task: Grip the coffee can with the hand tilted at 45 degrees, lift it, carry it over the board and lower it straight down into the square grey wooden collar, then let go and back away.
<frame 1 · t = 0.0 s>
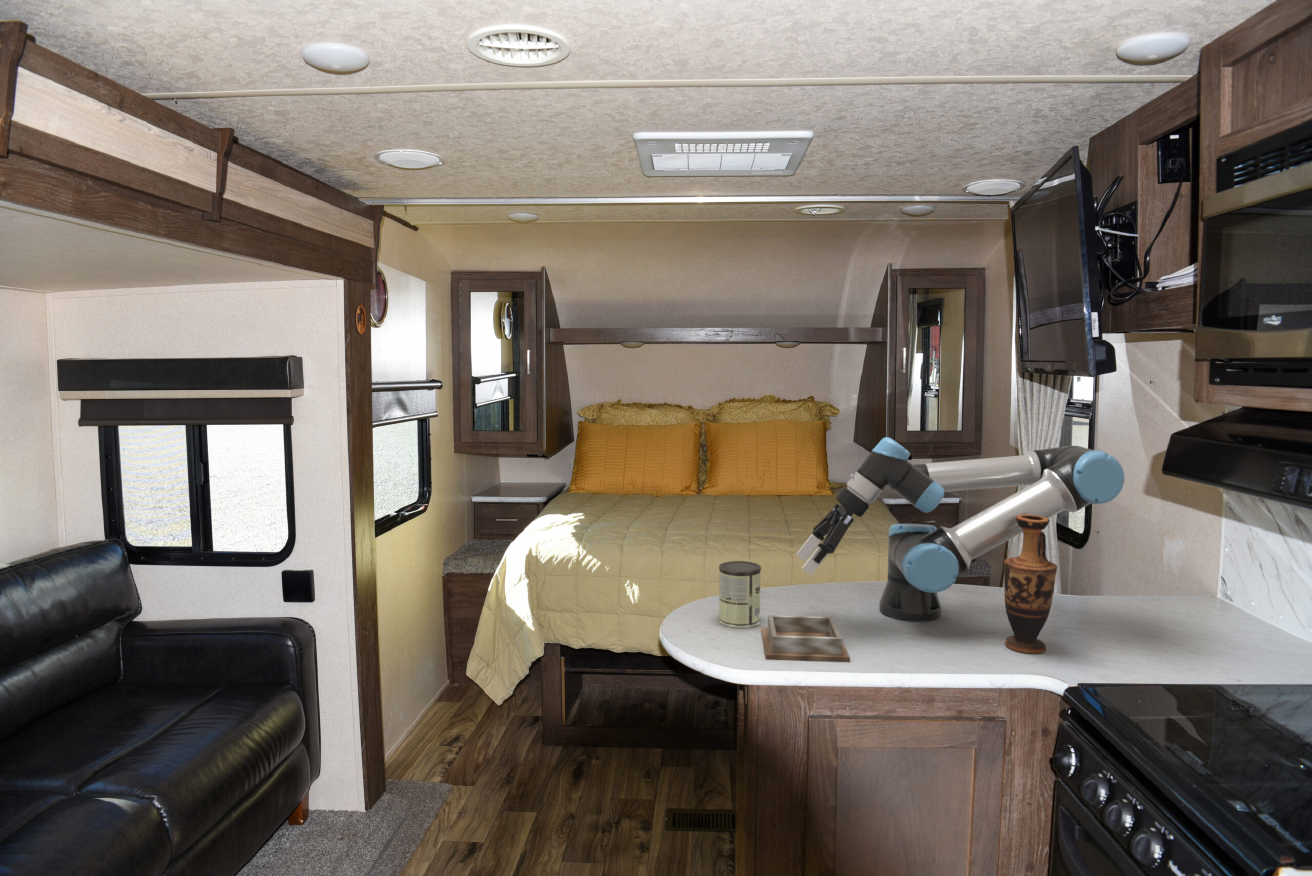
hand: (803, 564, 196), 15 cm above the counter, tool tilted 35°, fingers open, 13 cm apart
collar board: (803, 645, 184), on the counter
coffee can: (739, 622, 201), on the counter
vase: (1024, 648, 184), on the counter, touching arm
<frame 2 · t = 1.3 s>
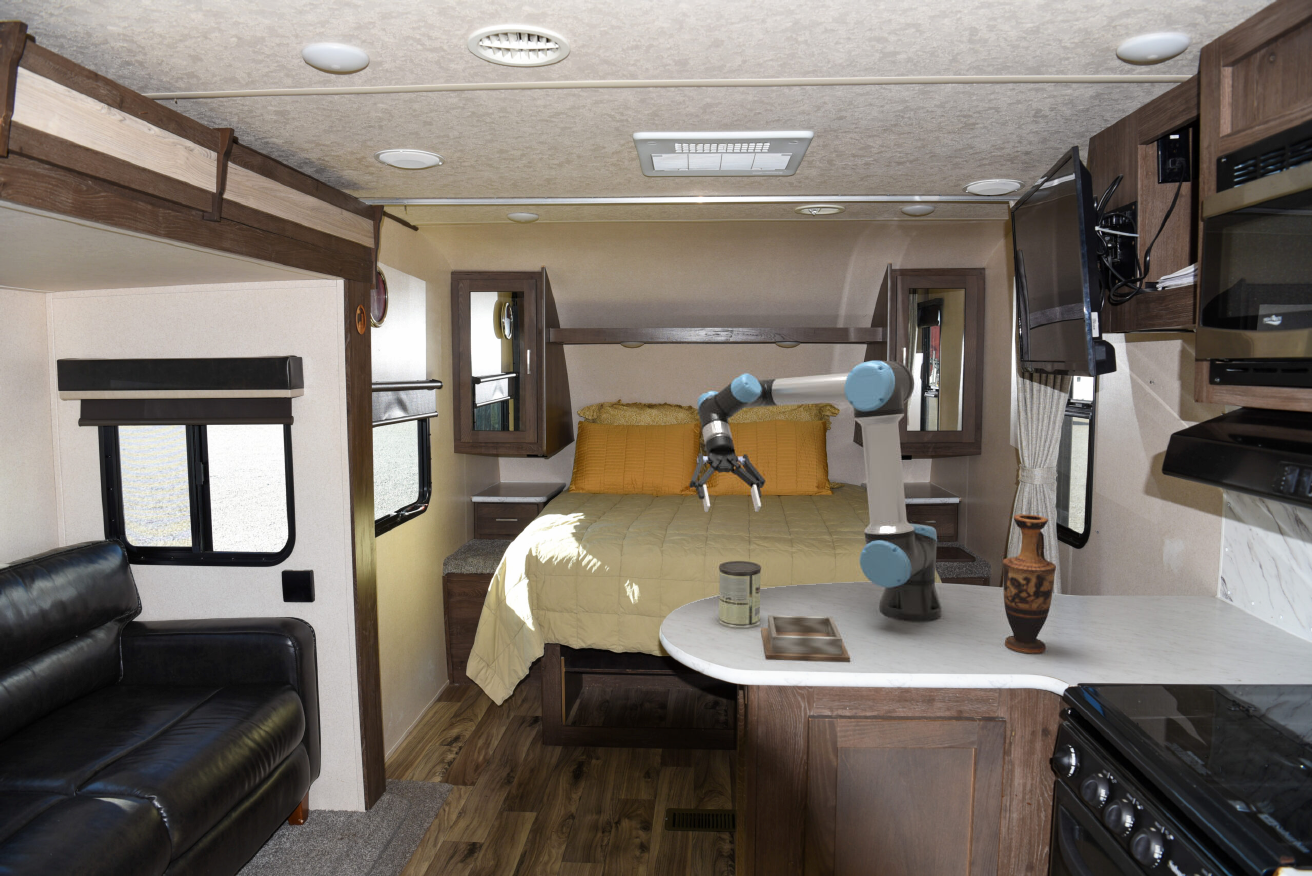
hand: (733, 509, 207), 27 cm above the counter, tool tilted 45°, fingers open, 13 cm apart
vase: (1024, 647, 184), on the counter
everything else where it was.
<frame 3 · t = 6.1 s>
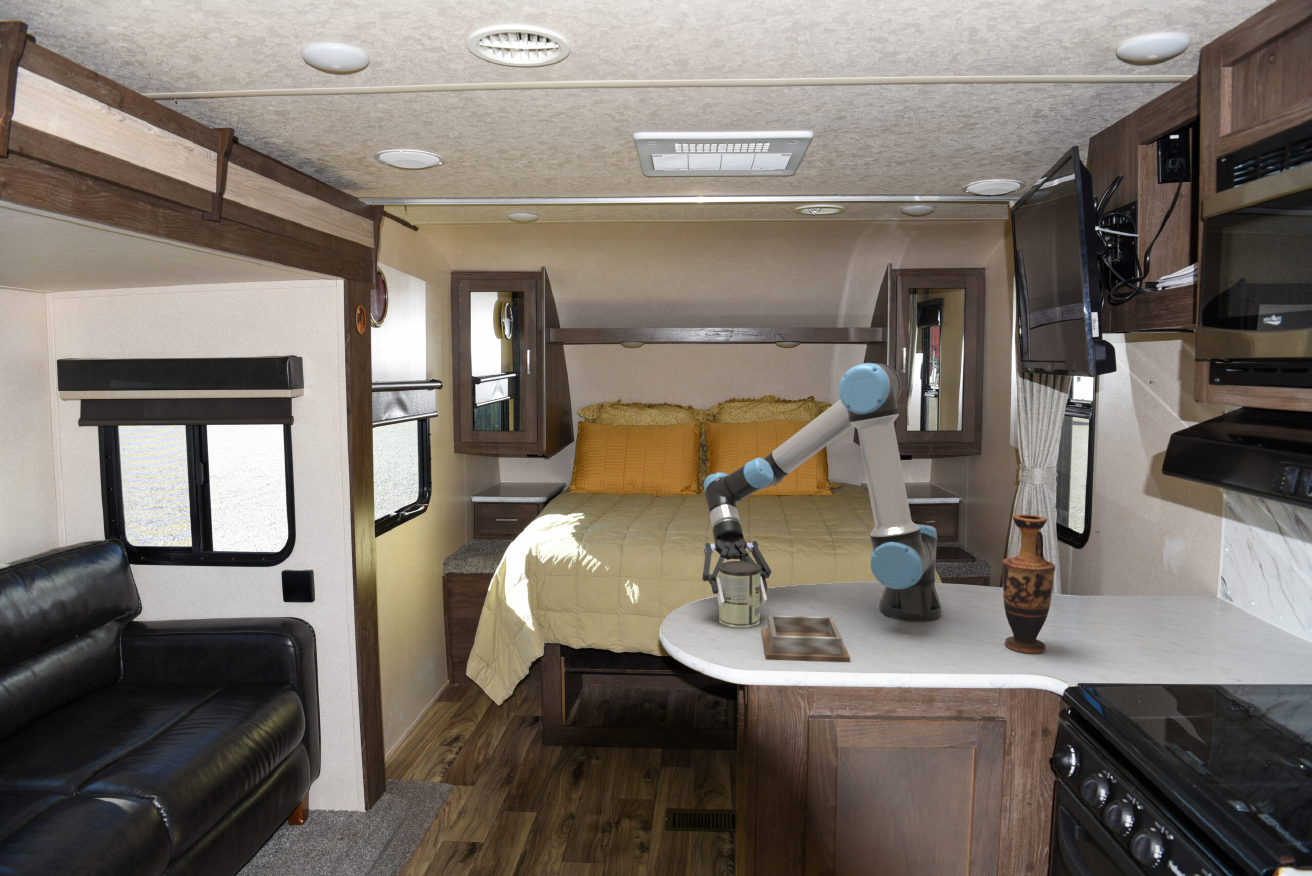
hand: (743, 603, 197), 5 cm above the counter, tool tilted 45°, fingers closed on coffee can, 10 cm apart
coffee can: (739, 622, 201), on the counter, touching gripper
everything else where it was.
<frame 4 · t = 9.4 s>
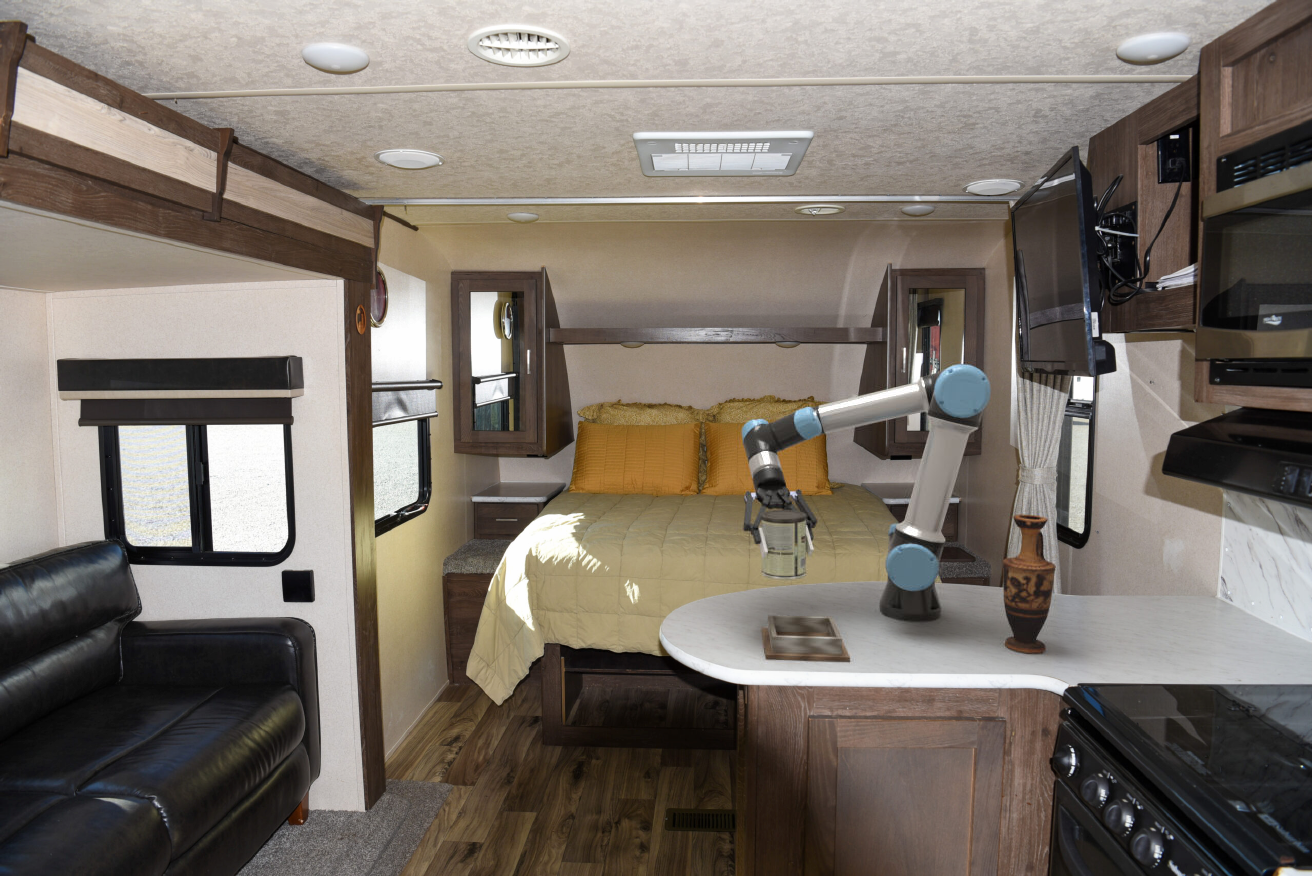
hand: (788, 553, 183), 21 cm above the counter, tool tilted 45°, fingers closed on coffee can, 10 cm apart
coffee can: (783, 575, 187), point 15 cm above the counter, touching gripper
everything else where it was.
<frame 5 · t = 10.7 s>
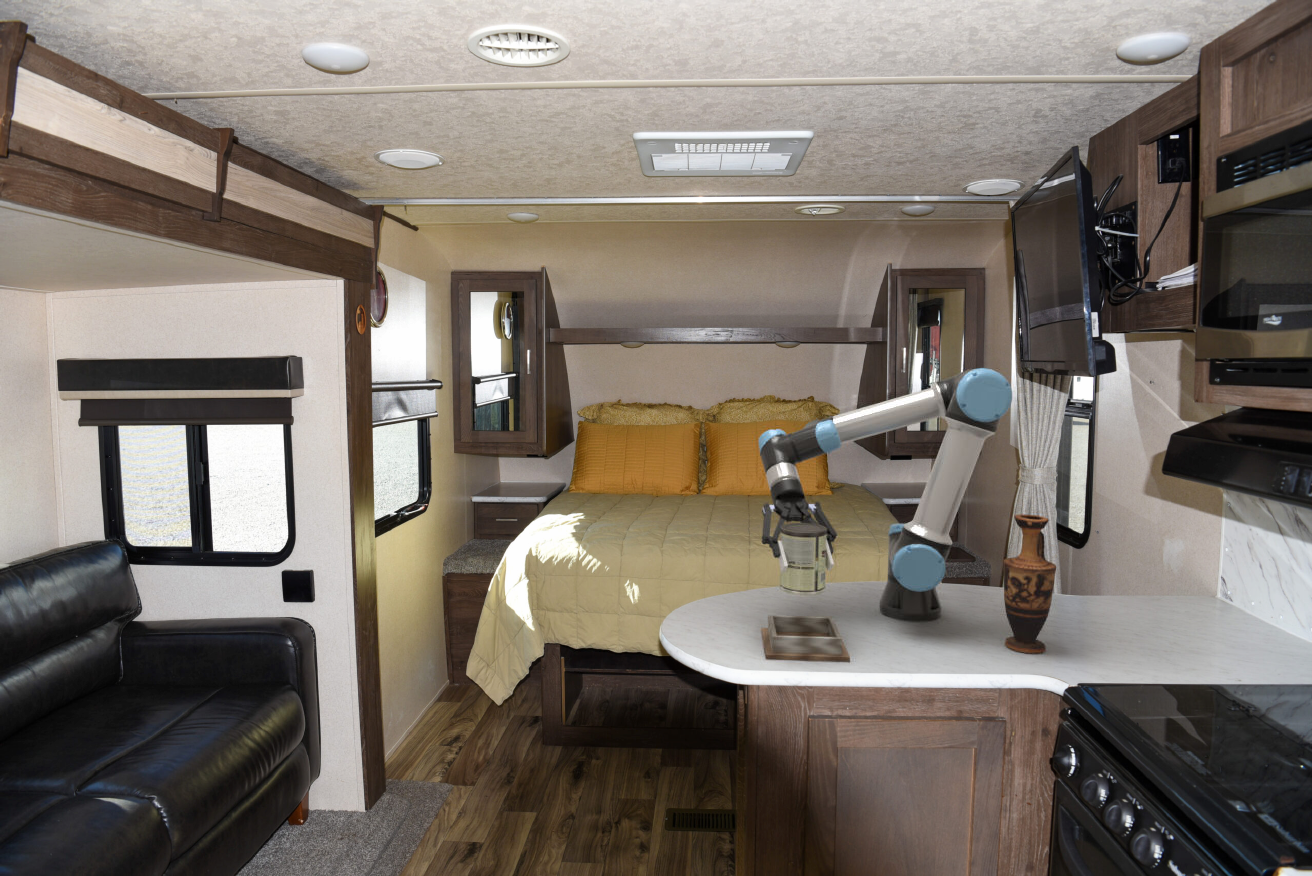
hand: (807, 568, 179), 19 cm above the counter, tool tilted 45°, fingers closed on coffee can, 10 cm apart
coffee can: (802, 589, 183), point 13 cm above the counter, touching gripper
everything else where it was.
when the fingers open (8 cm above the counter, at t = 13.5 s): coffee can drops 1 cm, resting on collar board.
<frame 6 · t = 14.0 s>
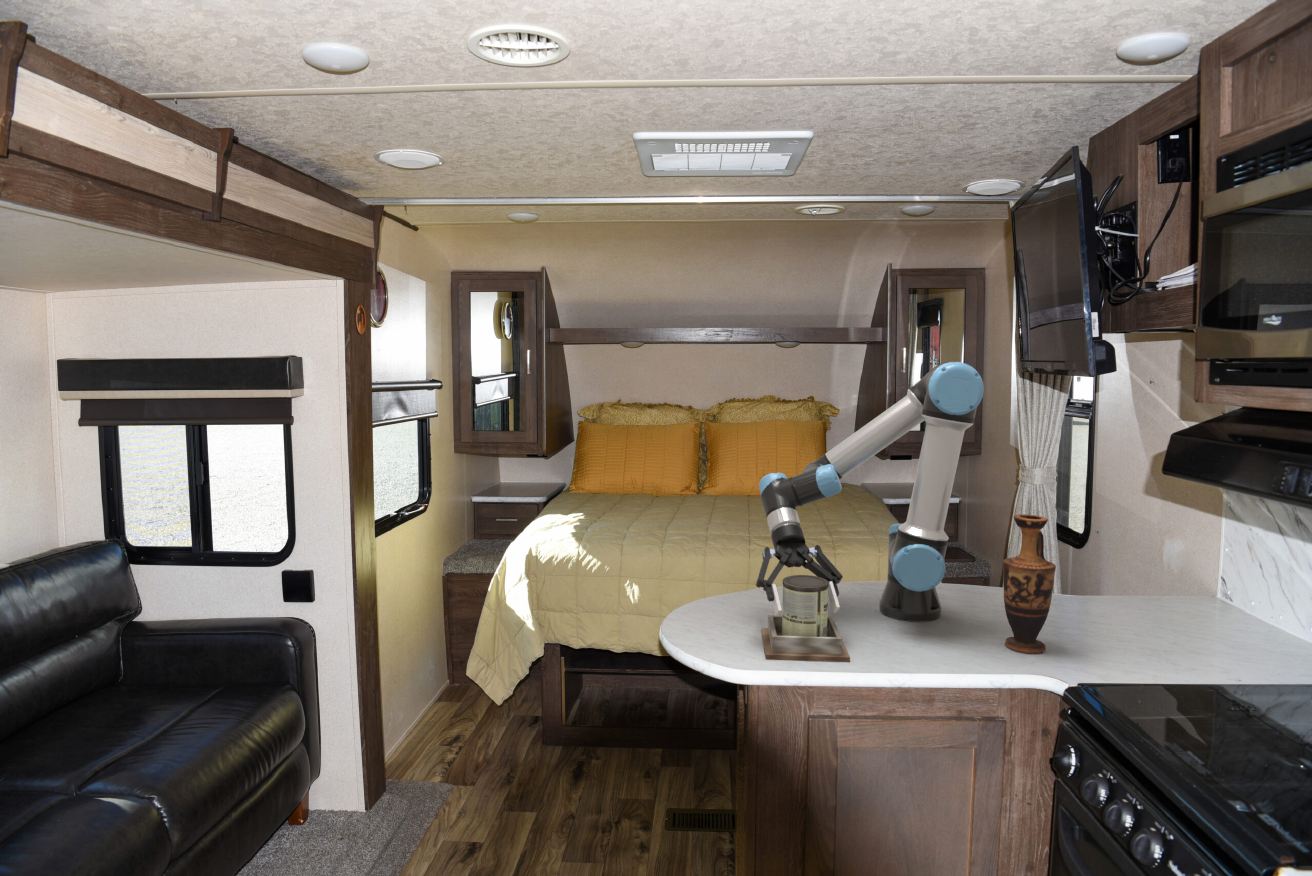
hand: (807, 611, 181), 9 cm above the counter, tool tilted 45°, fingers open, 13 cm apart
coffee can: (803, 642, 184), point 1 cm above the counter, touching collar board
everything else where it was.
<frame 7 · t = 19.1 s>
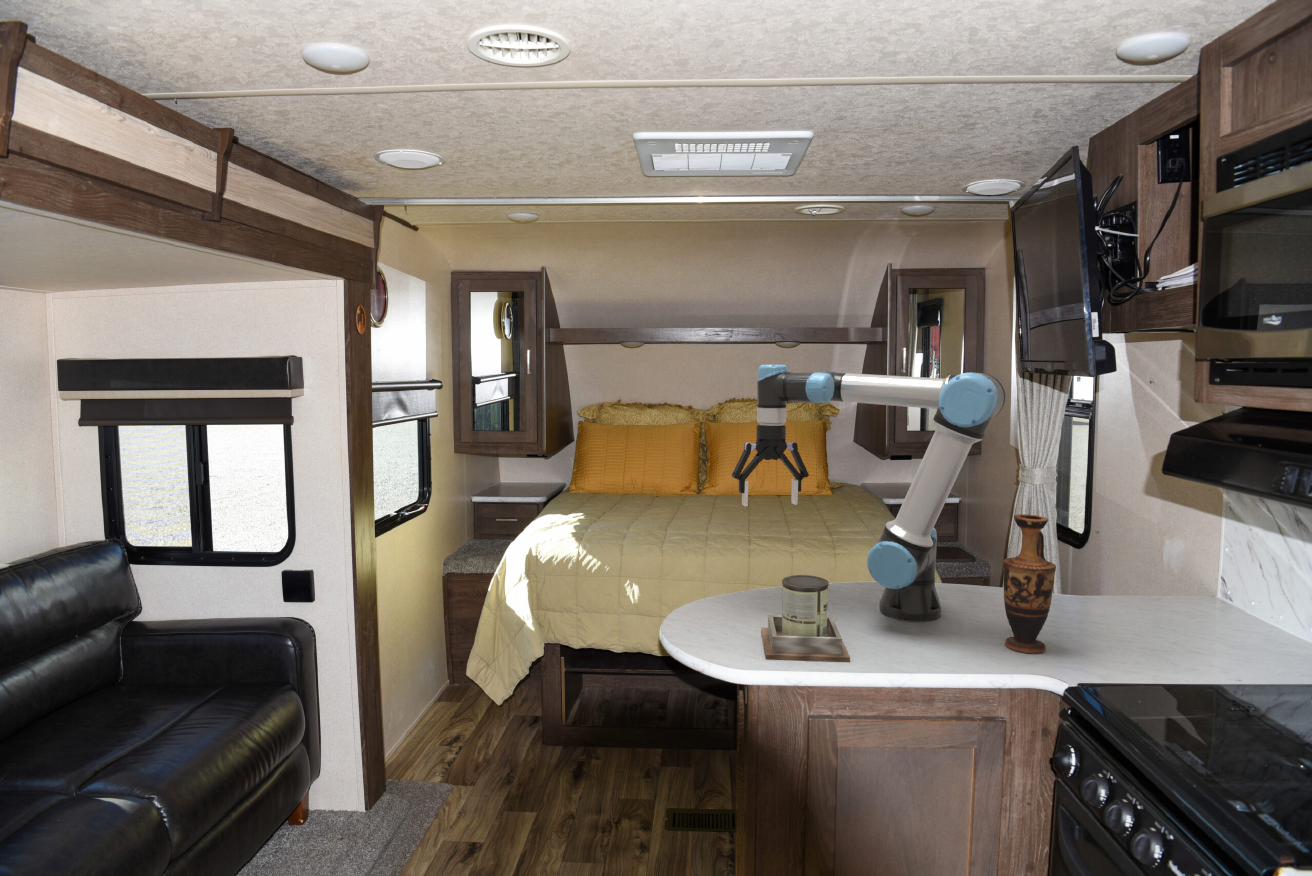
hand: (769, 504, 213), 27 cm above the counter, tool pointing down, fingers open, 13 cm apart
nothing on the counter moved.
at the end: coffee can 0.2 cm off-centre on the collar board, point 0.8 cm above the collar board's base; coffee can tilted 0°; the gripper is holding nothing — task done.
